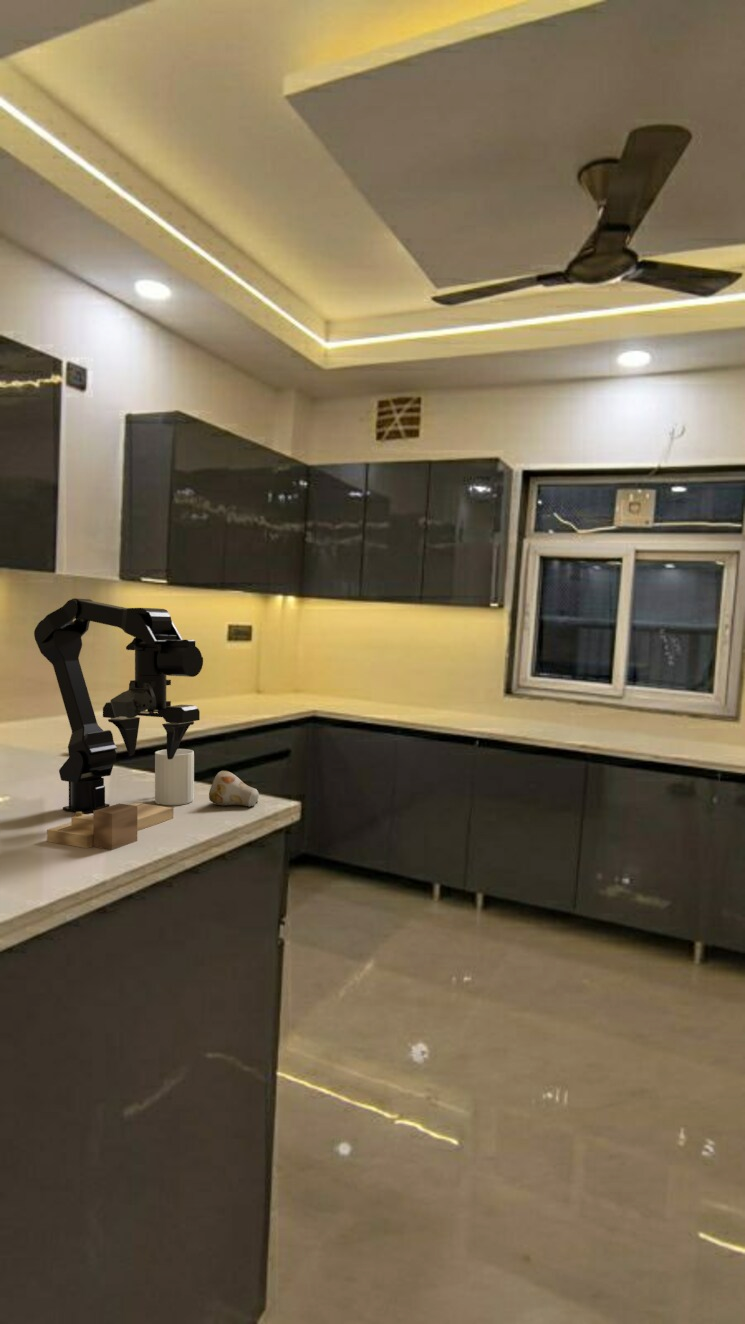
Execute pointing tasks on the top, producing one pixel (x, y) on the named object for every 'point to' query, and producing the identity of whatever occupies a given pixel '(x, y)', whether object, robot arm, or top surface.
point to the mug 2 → (174, 777)
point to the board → (84, 838)
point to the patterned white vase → (231, 791)
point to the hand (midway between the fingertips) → (150, 757)
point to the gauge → (109, 825)
